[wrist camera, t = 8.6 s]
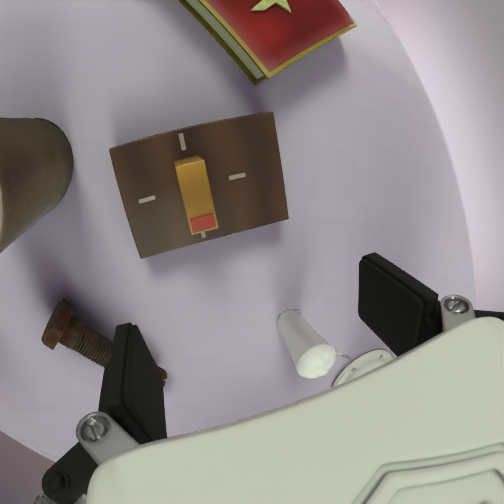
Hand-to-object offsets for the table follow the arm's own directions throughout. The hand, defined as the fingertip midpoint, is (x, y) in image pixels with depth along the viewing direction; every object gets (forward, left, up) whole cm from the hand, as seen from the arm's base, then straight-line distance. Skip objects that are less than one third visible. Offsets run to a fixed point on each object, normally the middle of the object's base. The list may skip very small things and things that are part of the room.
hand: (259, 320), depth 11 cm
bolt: (+15, +12, -19) cm, 27 cm away
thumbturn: (+1, -3, -16) cm, 16 cm away
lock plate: (0, -3, -19) cm, 19 cm away
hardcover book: (-7, -23, -19) cm, 30 cm away
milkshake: (-7, +16, -19) cm, 26 cm away
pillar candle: (+16, -9, -19) cm, 26 cm away
